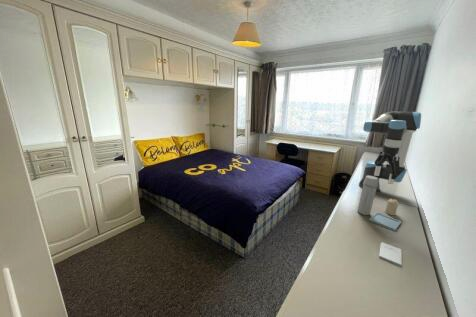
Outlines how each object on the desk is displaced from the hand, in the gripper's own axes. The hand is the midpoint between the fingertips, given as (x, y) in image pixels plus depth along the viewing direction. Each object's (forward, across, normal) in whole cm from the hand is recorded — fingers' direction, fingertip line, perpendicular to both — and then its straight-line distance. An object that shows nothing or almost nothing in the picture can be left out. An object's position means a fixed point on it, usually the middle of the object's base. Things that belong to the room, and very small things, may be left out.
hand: (383, 179), depth 121 cm
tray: (+24, +10, 0) cm, 26 cm away
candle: (+24, -1, +10) cm, 26 cm away
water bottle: (+24, +2, -8) cm, 25 cm away
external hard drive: (+24, +38, -15) cm, 48 cm away
